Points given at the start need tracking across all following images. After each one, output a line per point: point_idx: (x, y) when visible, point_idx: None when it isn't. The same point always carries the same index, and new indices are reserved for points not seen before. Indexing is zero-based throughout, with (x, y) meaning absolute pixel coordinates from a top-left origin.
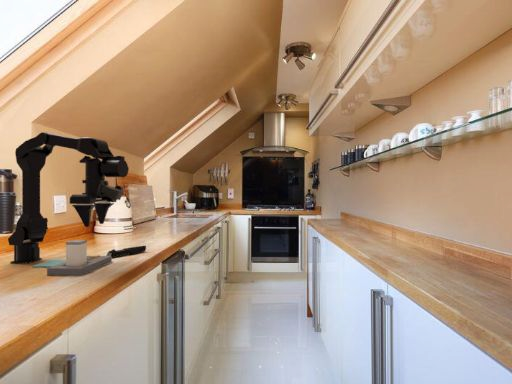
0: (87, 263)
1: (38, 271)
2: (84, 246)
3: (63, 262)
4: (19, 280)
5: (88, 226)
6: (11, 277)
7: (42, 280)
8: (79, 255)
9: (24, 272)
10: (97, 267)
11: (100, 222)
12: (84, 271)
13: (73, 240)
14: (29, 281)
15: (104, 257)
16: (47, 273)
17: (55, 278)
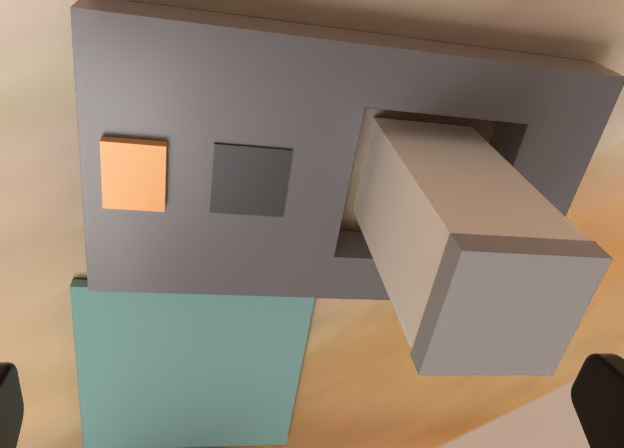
0: (436, 111)
1: (390, 362)
2: (480, 216)
3: (194, 347)
4: (573, 339)
5: (617, 355)
6: (496, 399)
7: (619, 239)
8: (527, 185)
9: (400, 407)
10: (369, 34)
11: (14, 424)
12: (565, 62)
13: (463, 361)
14: (614, 288)
15: (164, 59)
16: None
17: (600, 195)
